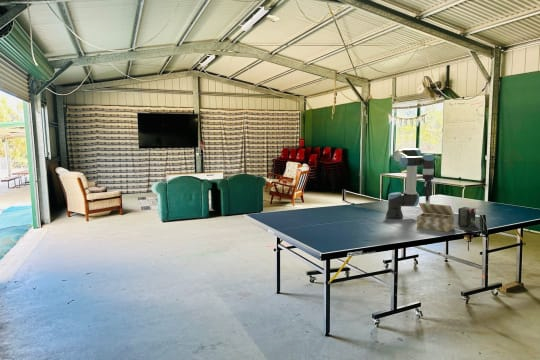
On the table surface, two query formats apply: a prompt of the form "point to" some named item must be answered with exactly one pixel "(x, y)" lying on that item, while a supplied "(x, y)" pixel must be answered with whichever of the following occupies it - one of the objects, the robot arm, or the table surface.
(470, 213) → the tampon box
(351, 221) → the table surface
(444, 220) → the open wooden box
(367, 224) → the table surface
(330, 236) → the table surface
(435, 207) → the flap
